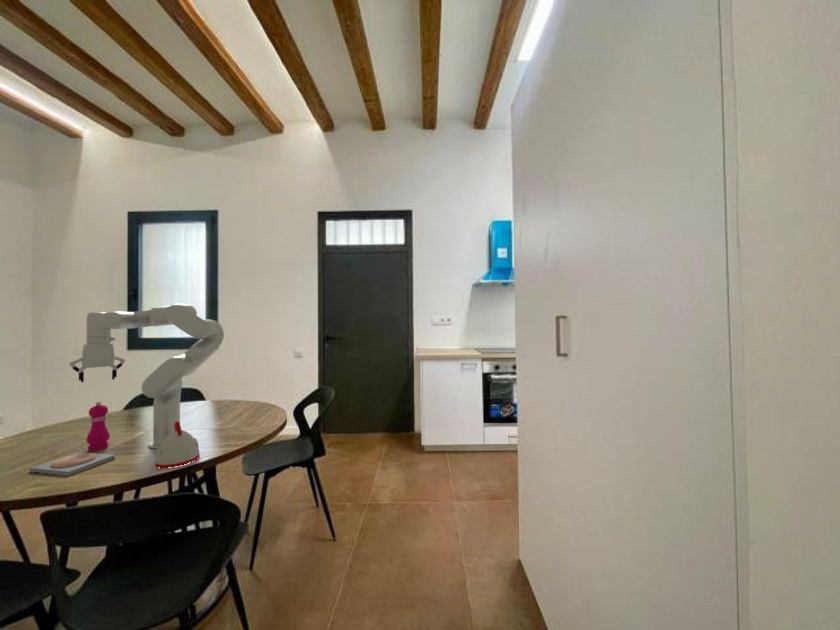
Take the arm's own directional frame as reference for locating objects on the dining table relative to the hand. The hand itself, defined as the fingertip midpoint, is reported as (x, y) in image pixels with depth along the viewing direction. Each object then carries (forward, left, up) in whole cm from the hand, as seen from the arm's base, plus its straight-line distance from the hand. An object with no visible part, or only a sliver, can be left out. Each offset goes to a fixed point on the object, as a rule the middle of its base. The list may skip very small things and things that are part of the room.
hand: (98, 380), depth 144 cm
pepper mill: (0, 0, -29) cm, 29 cm away
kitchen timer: (-46, +5, -29) cm, 55 cm away
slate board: (-10, +15, -29) cm, 34 cm away
